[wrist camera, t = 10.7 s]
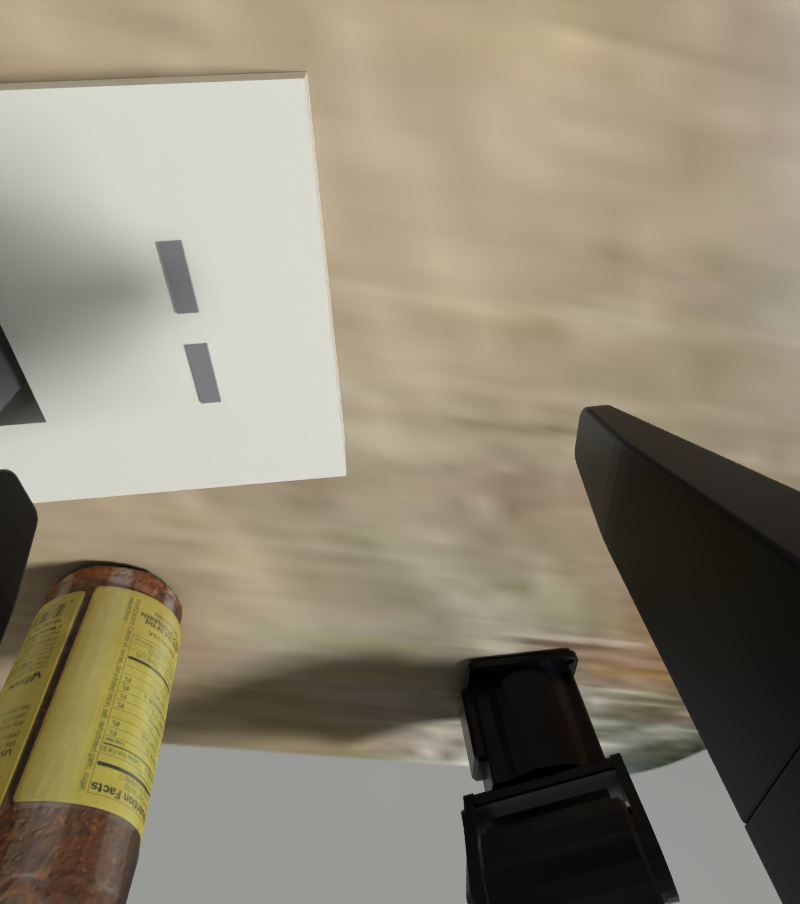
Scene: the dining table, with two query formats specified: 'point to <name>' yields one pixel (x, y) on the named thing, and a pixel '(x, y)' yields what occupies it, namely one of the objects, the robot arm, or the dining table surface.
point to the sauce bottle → (84, 736)
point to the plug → (8, 372)
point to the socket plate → (165, 286)
